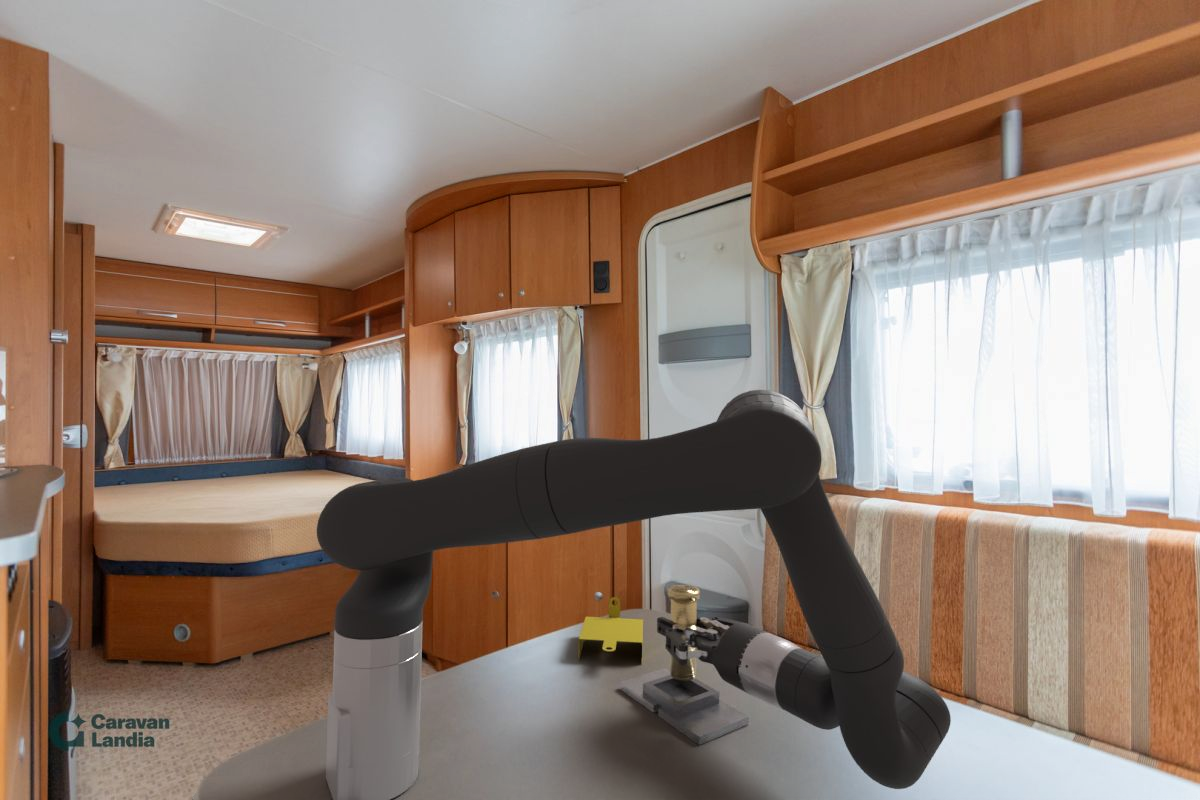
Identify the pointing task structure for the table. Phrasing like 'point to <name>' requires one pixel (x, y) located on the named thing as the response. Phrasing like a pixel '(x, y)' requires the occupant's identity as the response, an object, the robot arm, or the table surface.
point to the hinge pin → (683, 624)
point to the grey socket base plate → (685, 705)
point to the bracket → (611, 629)
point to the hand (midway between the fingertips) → (670, 621)
